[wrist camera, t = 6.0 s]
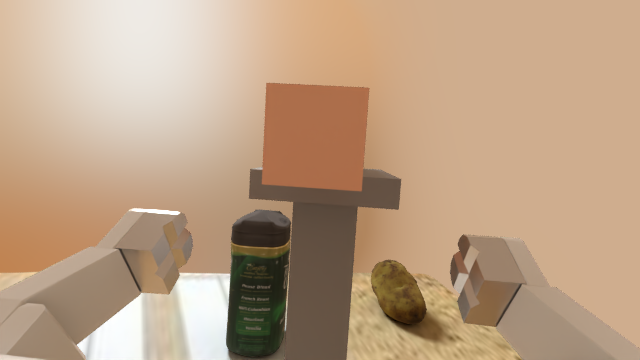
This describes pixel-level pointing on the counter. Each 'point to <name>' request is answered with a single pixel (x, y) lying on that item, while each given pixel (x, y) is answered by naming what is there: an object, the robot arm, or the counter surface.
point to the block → (315, 136)
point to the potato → (398, 292)
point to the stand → (323, 259)
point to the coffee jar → (258, 283)
